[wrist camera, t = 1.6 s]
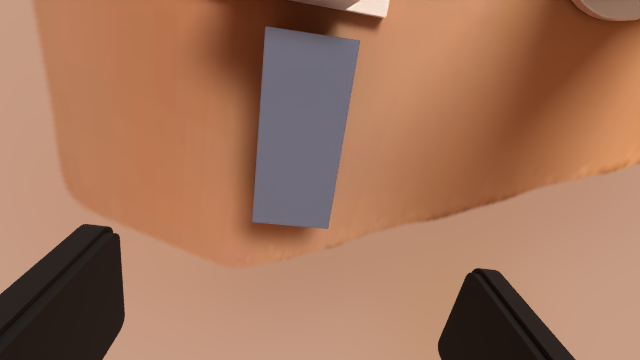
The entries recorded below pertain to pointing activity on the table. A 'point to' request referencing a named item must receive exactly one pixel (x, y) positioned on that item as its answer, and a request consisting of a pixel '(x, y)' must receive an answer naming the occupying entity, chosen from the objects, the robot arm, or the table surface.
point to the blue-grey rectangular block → (301, 125)
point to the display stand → (354, 6)
